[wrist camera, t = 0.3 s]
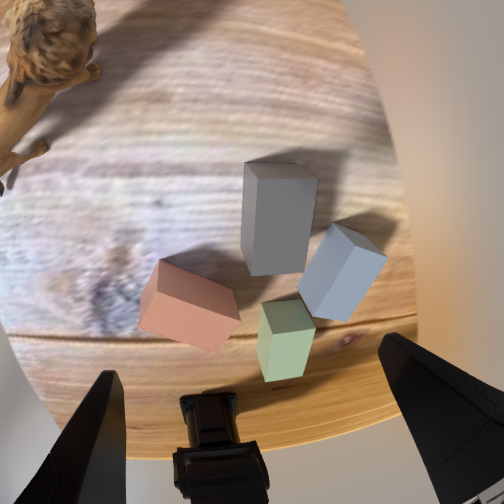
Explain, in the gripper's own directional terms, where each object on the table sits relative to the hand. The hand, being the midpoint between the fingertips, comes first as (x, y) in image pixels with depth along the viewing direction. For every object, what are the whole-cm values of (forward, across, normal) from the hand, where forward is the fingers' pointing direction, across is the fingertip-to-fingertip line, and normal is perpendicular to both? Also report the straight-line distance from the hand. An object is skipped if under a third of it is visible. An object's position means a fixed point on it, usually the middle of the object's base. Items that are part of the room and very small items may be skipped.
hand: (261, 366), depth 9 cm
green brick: (+14, -6, +12) cm, 19 cm away
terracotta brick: (+14, +2, +7) cm, 16 cm away
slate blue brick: (+14, -10, +5) cm, 18 cm away
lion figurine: (+14, +11, -9) cm, 20 cm away
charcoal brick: (+14, -4, 0) cm, 14 cm away
